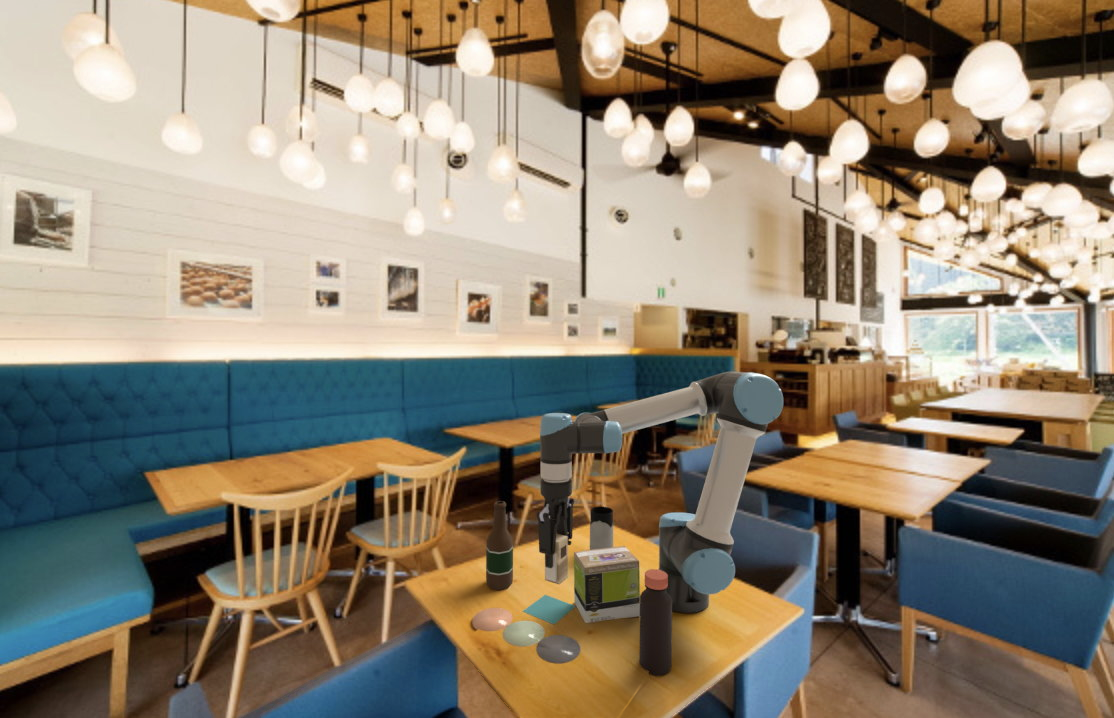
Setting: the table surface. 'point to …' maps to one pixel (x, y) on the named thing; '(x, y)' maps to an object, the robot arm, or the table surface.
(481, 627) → the pink round disc
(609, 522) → the black and grey mug
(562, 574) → the letter block
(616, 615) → the coffee pod box
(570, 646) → the grey flat round disc
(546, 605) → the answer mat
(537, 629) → the saucer middle
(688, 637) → the table surface
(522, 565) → the table surface
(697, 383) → the robot arm
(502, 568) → the beer bottle
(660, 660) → the vinegar
